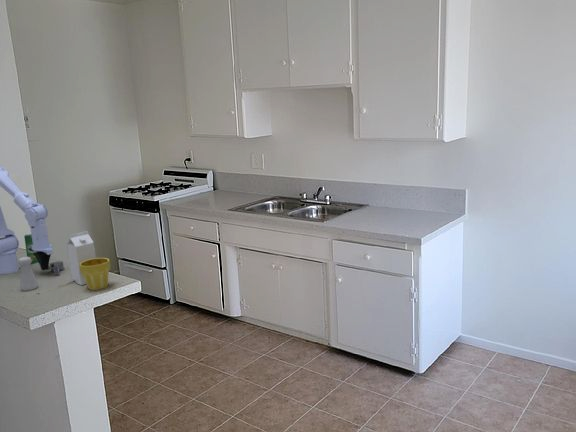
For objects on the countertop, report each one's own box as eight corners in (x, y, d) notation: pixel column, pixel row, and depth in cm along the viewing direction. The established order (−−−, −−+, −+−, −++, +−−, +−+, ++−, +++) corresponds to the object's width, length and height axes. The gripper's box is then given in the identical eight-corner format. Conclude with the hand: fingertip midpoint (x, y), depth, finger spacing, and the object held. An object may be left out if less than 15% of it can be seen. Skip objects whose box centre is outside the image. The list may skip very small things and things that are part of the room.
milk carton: (72, 282, 205) (65, 233, 201) (90, 277, 210) (83, 229, 206) (81, 285, 200) (74, 236, 196) (99, 280, 205) (92, 232, 201)
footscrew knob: (51, 269, 219) (49, 260, 218) (64, 267, 221) (62, 258, 220) (50, 276, 209) (48, 267, 208) (63, 274, 211) (62, 265, 210)
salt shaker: (41, 288, 199) (36, 254, 197) (34, 294, 194) (29, 259, 191) (25, 289, 199) (19, 256, 196) (18, 295, 193) (12, 260, 191)
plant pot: (92, 294, 189) (88, 267, 187) (77, 288, 196) (73, 263, 194) (118, 285, 197) (114, 259, 195) (103, 281, 204) (99, 256, 202)
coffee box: (48, 260, 238) (44, 232, 236) (48, 262, 236) (43, 233, 233) (28, 263, 236) (24, 234, 233) (28, 265, 233) (23, 236, 230)
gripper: (58, 236, 209) (63, 269, 211) (41, 231, 218) (46, 264, 221) (40, 240, 204) (45, 274, 206) (24, 235, 213) (29, 268, 216)
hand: (45, 269), depth 213 cm, fingers closed
